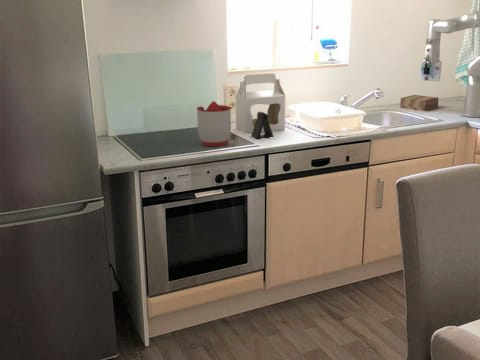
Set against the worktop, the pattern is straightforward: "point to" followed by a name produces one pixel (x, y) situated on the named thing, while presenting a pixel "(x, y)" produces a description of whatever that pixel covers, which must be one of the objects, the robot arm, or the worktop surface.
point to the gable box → (260, 97)
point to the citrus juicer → (214, 124)
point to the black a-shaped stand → (262, 122)
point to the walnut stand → (419, 102)
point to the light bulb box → (431, 72)
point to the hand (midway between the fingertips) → (429, 73)
